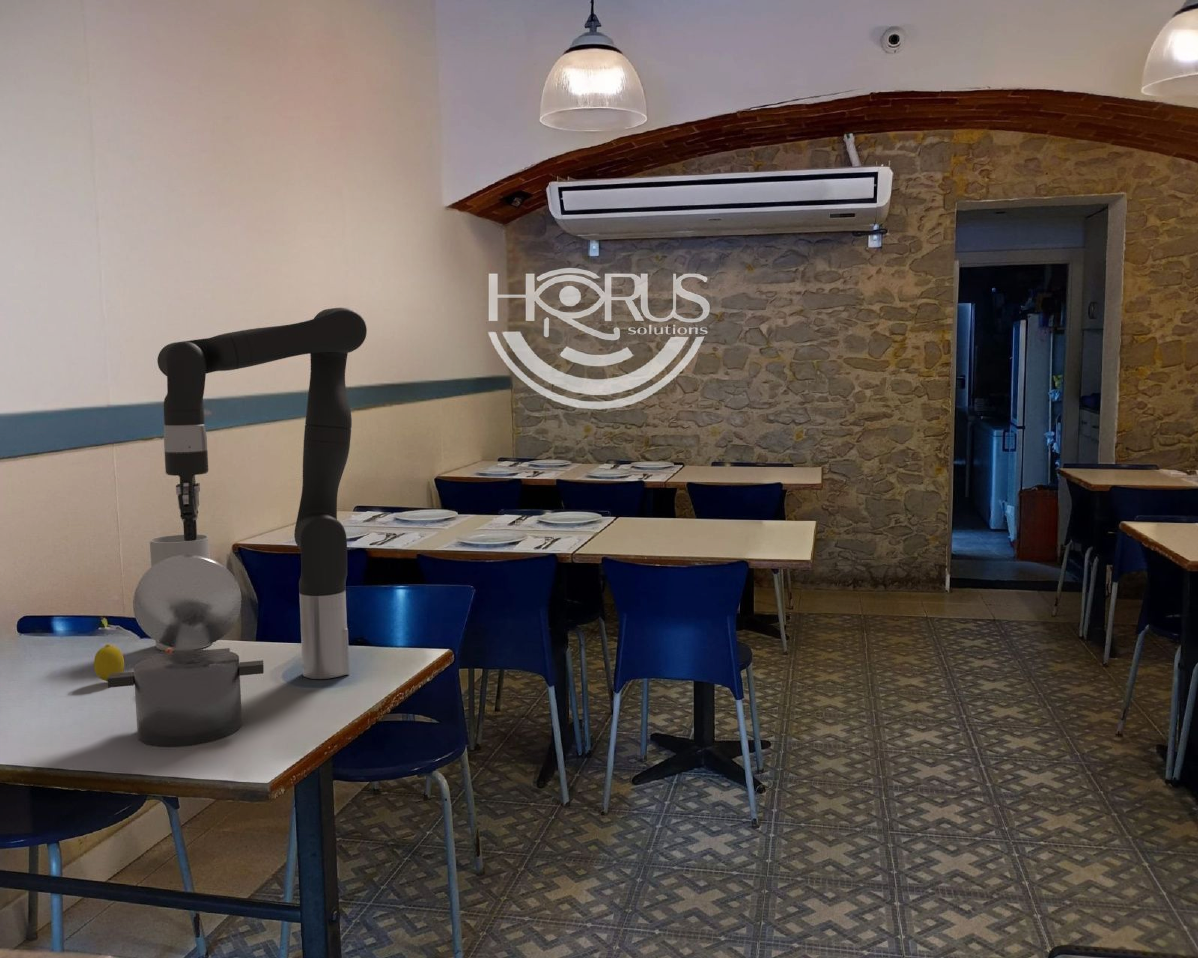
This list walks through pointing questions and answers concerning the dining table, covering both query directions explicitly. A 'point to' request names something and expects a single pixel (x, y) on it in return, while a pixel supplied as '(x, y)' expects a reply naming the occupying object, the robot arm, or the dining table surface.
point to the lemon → (108, 662)
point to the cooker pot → (187, 696)
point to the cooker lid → (187, 601)
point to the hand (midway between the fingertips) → (190, 540)
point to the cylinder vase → (175, 547)
